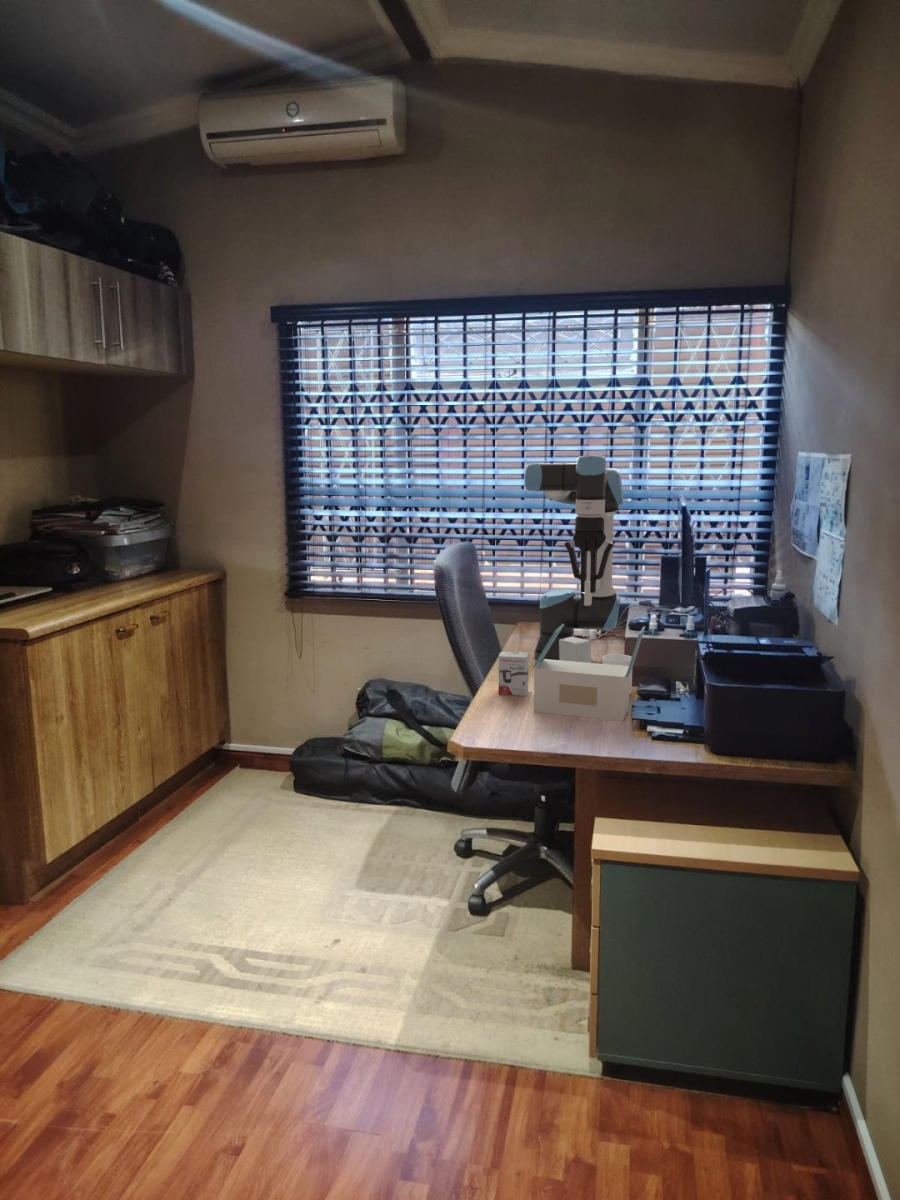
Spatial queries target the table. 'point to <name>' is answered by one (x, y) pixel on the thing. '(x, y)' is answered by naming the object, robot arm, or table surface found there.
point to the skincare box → (575, 650)
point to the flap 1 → (548, 645)
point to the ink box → (513, 673)
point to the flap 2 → (635, 651)
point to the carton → (581, 689)
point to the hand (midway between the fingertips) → (587, 604)
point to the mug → (618, 663)
